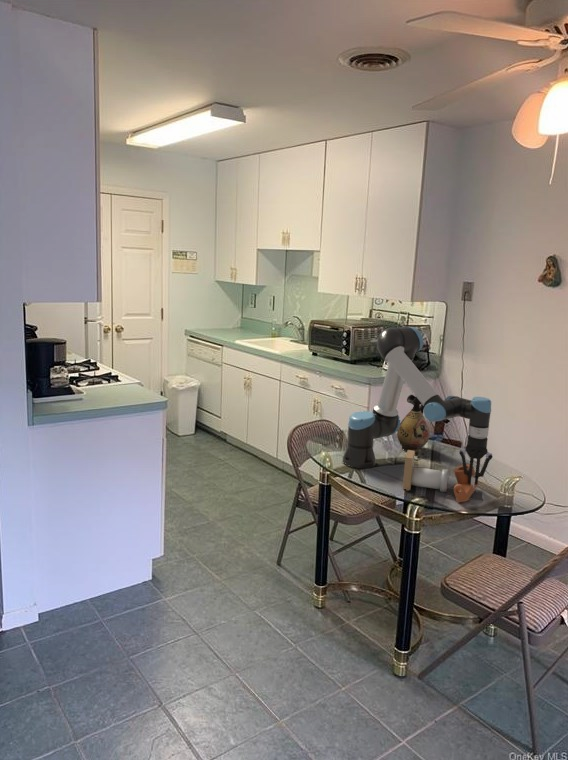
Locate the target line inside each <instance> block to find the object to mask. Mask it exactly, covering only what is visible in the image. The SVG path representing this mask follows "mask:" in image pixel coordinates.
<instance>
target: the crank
mask: <svg viewBox="0 0 568 760" xmlns="http://www.w3.org/2000/svg"><path fill="white" fill-rule="evenodd" d="M469 465H470V463H468V464H467V463H466V466H467V471H469ZM453 471H454V475H455V479H456V482H457V483H456V484H455V485H454V486H453V488H454V493H455V496H454V498H455V499H456V502H457V503H462V502H467V501H469V500H470V499H469V498H470V496H471V495H472V493H473V492H474V491H476V489H477V488H478V486H479V482H478V484H477V485H474V488H473V485H471V484H468V475H465V474H464V469H463V464H461V465H459V466H457V467H455V468H454V469H453ZM475 472H476V469H475V468H474V466H473V469H472V475H475ZM456 489H457V490H456Z"/></svg>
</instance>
